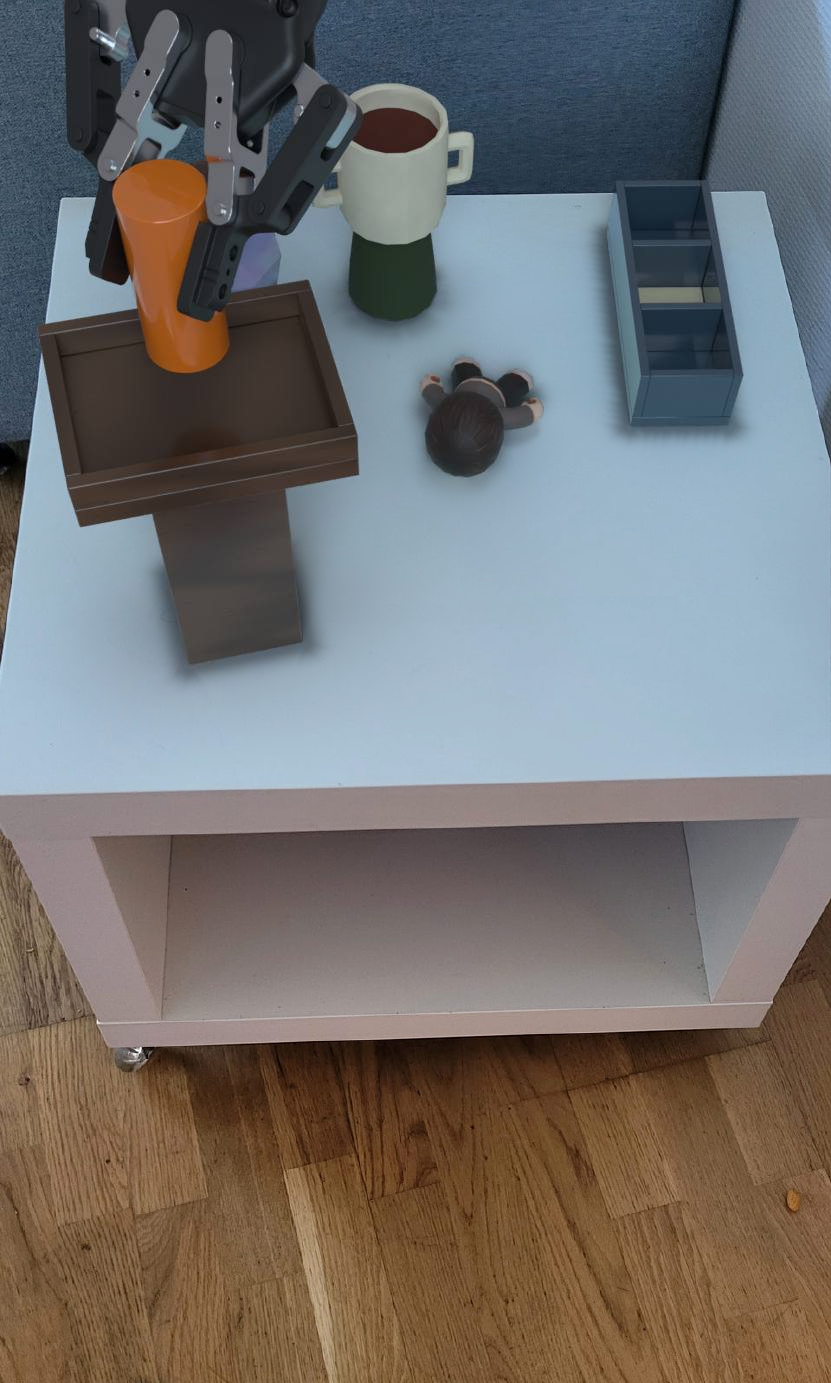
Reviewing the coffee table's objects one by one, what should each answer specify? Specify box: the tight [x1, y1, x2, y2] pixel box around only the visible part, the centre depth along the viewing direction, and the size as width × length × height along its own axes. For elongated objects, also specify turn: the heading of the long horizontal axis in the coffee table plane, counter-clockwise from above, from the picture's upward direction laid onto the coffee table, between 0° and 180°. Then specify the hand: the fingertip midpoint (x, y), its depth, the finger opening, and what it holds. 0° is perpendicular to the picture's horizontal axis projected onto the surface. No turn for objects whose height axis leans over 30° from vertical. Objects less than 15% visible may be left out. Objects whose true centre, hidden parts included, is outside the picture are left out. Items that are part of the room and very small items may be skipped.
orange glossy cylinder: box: [112, 158, 230, 373], centre depth 59 cm, size 4×4×8 cm
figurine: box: [419, 355, 544, 478], centre depth 85 cm, size 8×5×10 cm
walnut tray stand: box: [36, 279, 360, 666], centre depth 72 cm, size 14×11×18 cm
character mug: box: [311, 82, 475, 322], centre depth 86 cm, size 11×7×13 cm, turn 106°
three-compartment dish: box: [606, 179, 744, 427], centre depth 89 cm, size 7×19×4 cm, turn 1°
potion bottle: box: [188, 159, 282, 292], centre depth 85 cm, size 9×9×12 cm
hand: (150, 296), depth 58 cm, fingers closed on orange glossy cylinder, 4 cm apart
